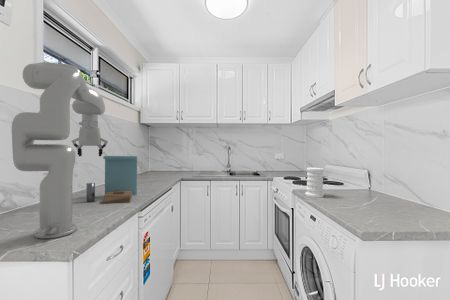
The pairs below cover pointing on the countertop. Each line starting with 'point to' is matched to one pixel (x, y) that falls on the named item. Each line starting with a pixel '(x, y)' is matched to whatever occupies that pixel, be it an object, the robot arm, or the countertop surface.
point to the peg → (90, 192)
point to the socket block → (117, 196)
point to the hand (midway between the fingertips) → (90, 156)
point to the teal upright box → (121, 173)
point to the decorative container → (315, 182)
